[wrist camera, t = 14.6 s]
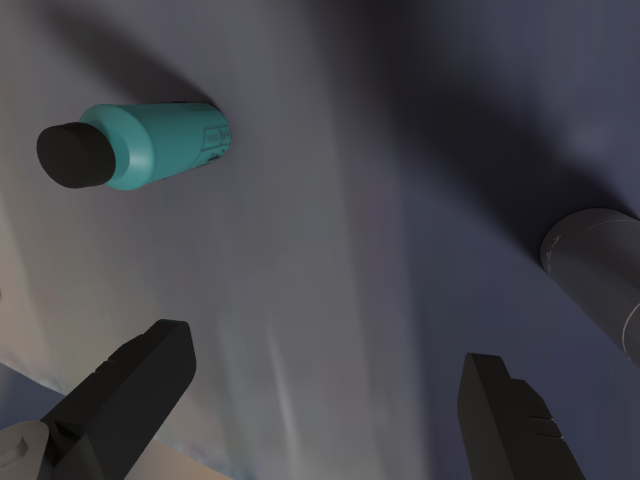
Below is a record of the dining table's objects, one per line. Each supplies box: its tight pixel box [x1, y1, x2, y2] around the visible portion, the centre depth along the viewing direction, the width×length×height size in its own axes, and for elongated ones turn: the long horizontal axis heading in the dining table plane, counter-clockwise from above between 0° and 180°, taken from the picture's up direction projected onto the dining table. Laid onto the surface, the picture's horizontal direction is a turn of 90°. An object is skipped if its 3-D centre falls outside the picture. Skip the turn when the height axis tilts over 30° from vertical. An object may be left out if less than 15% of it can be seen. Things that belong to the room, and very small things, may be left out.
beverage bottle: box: [37, 101, 231, 190], centre depth 29 cm, size 6×7×20 cm
